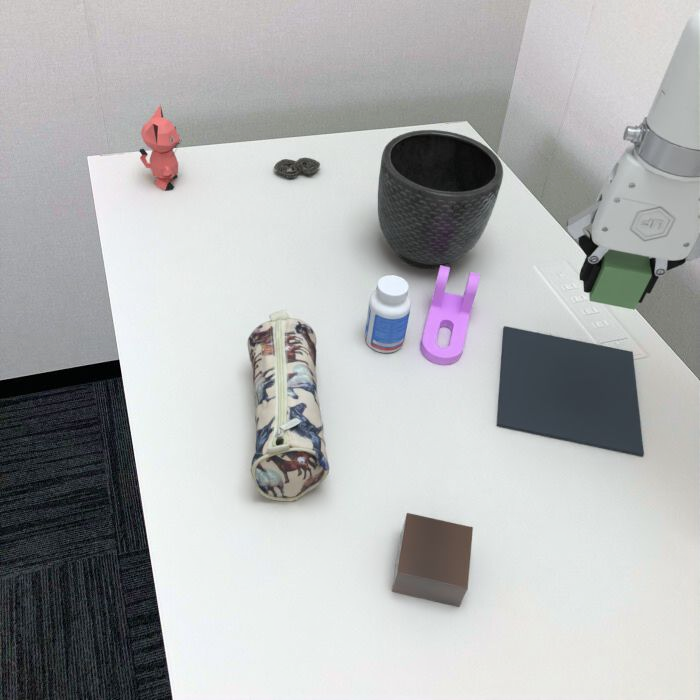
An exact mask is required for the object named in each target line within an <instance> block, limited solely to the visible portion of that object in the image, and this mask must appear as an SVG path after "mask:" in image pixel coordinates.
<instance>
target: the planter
mask: <svg viewBox="0 0 700 700" xmlns="http://www.w3.org/2000/svg"><path fill="white" fill-rule="evenodd" d="M380 159H381V160H380V168H379V174H378V185H377V186H378V187H377V216H378V224H379V227H380V230H381V233H382V235H383V238H384V239H385V240H386V243H388V245H389V246H390V247H391V248H392V249H393V250H394V251H395V252H396V253H397V255H398V256H399V257H400V258H401V259H402V260H403V261H404V262H406V263H408V264H409V265H411V266H414V267H416V268H421V269H428V270H429V269H430V270H431V269H440V265H442V266H447V265H448V264H449V263H451V262H454V261H457V260H459V259H461V258H463V257H464V256H466V255H467V254H468V253H470V252H471V251H472V249H473V248H474V247H475V246H476V245H477V244H478V242H479V241H480V239H481V238H482V236H483V234H484V232H485V230H486V228H487V226H488V223H489V221H490V219H491V217H492V214H493V211H494V209H495V206H496V203H497V201H498V197H499V193H500V189H501V186H502V182H503V178H504V167H503V164H502V161H501V160H500V158H499V157H498V156H497V155H496V154H495V152H494V151H493V150H491V149H490V148H489V147H488V146H486V145H485V144H483V143H481V142H480V141H478V140H476V139H474V138H471V137H470V136H467V135H465V134H460V133H457V132H451V131H448V130H440V129H421V130H413V131H409V132H405V133H402V134H400V135H398V136H396V137H394V138H392V139H390V141H388V142H387V144H386V145H385V146H384V149H383V151H382V154H381V158H380Z"/></svg>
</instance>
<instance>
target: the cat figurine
mask: <svg viewBox="0 0 700 700" xmlns="http://www.w3.org/2000/svg"><path fill="white" fill-rule="evenodd" d="M140 135H141V138H142V141H143V142H144V144H145V145H146V147H148V148H150V149H151V155H150V156H149V162H148V160H147V157H148V155H149V154H148V152H147V151H146V150H145V149H144V148H139V151H138V152H139V153H140V154H141V155H140V157H139V159H140V161H141V163H142V164H143V165H144V167H145V169H150V171H151V174H152V176H153V177H155V178H156V180H155V182H154V185H155V186H156V187H157V188H158V189H161V190H163V191H173V190H174V189H175V186H174V184H173V183H172V181H173V180H175V179H177V178H178V174H179V162H178V159H177V156H176V152H177V149H178V148H179V145H180V144H181V143H182V140H183V139H181V138H180V134H178V132H177V126H176V125H175V126H174V124H173V122H172V121H170V120H169V119H167V118H166V117H164V114H163V109H162V104H161V103H160V104H159V106H158V107H157V109H156V110H155V112H154V114H153V115H152V116H151V117H150V119H149V120H148V121H147V122H146V123H145V124H143V126H142V129H141V131H140ZM174 149H175V150H174Z"/></svg>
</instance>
